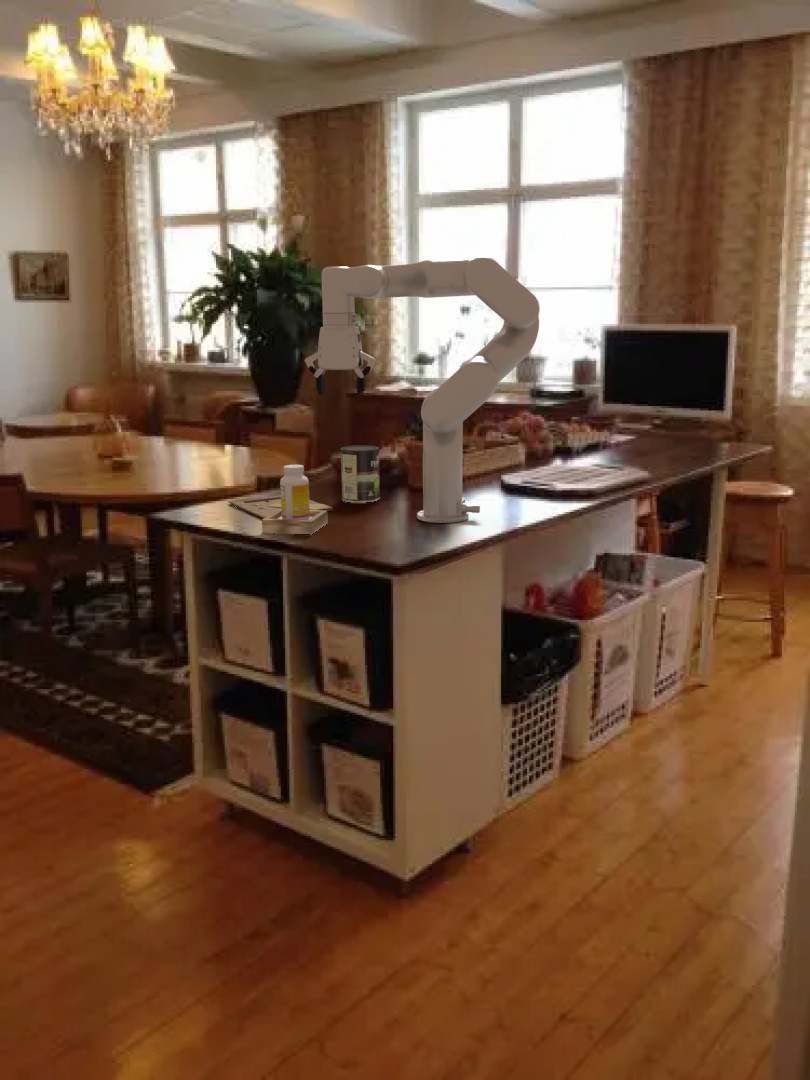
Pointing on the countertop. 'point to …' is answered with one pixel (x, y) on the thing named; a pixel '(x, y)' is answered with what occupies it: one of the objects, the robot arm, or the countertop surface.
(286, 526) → the stand
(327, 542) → the countertop surface
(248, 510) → the picture frame
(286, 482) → the supplement bottle
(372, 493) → the coffee can
